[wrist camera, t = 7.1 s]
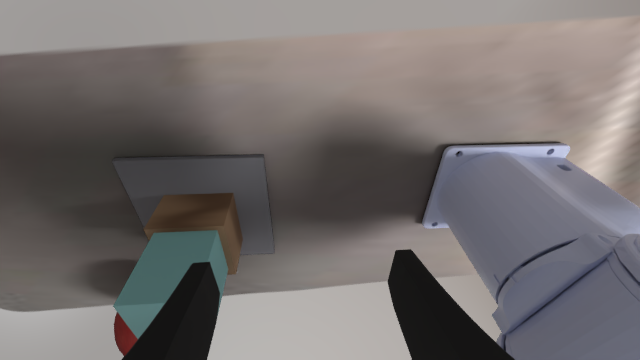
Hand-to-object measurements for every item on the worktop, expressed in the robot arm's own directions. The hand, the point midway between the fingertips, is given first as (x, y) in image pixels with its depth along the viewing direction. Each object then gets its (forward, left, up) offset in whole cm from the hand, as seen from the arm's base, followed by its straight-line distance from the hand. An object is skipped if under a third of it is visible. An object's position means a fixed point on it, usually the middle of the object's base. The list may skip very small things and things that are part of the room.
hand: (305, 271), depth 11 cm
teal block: (+8, +6, -7) cm, 12 cm away
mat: (+8, +6, -10) cm, 14 cm away
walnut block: (+8, +6, -10) cm, 14 cm away
